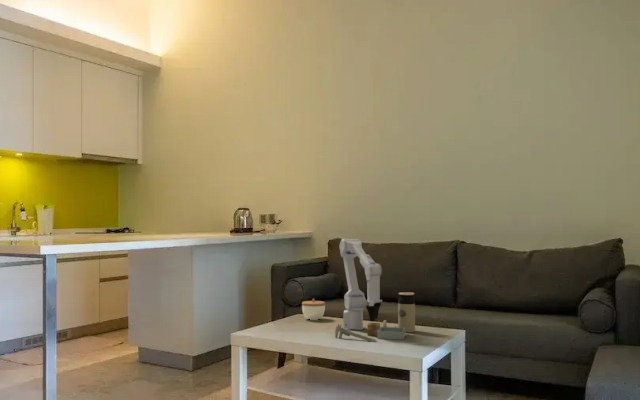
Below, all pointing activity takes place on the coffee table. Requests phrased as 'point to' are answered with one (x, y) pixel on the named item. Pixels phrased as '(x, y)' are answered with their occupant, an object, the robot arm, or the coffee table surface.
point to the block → (373, 329)
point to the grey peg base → (384, 323)
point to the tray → (391, 333)
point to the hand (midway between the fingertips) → (373, 319)
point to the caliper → (348, 333)
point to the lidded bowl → (313, 309)
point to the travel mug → (406, 311)
